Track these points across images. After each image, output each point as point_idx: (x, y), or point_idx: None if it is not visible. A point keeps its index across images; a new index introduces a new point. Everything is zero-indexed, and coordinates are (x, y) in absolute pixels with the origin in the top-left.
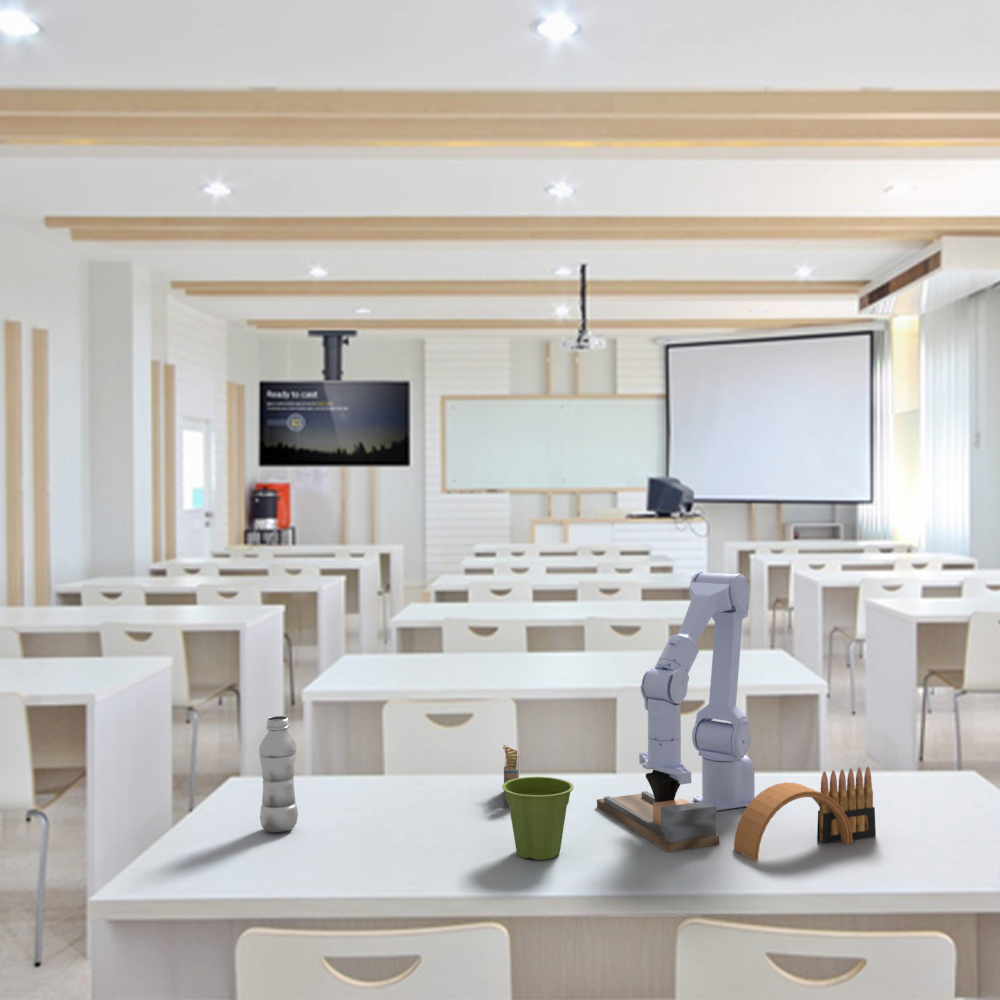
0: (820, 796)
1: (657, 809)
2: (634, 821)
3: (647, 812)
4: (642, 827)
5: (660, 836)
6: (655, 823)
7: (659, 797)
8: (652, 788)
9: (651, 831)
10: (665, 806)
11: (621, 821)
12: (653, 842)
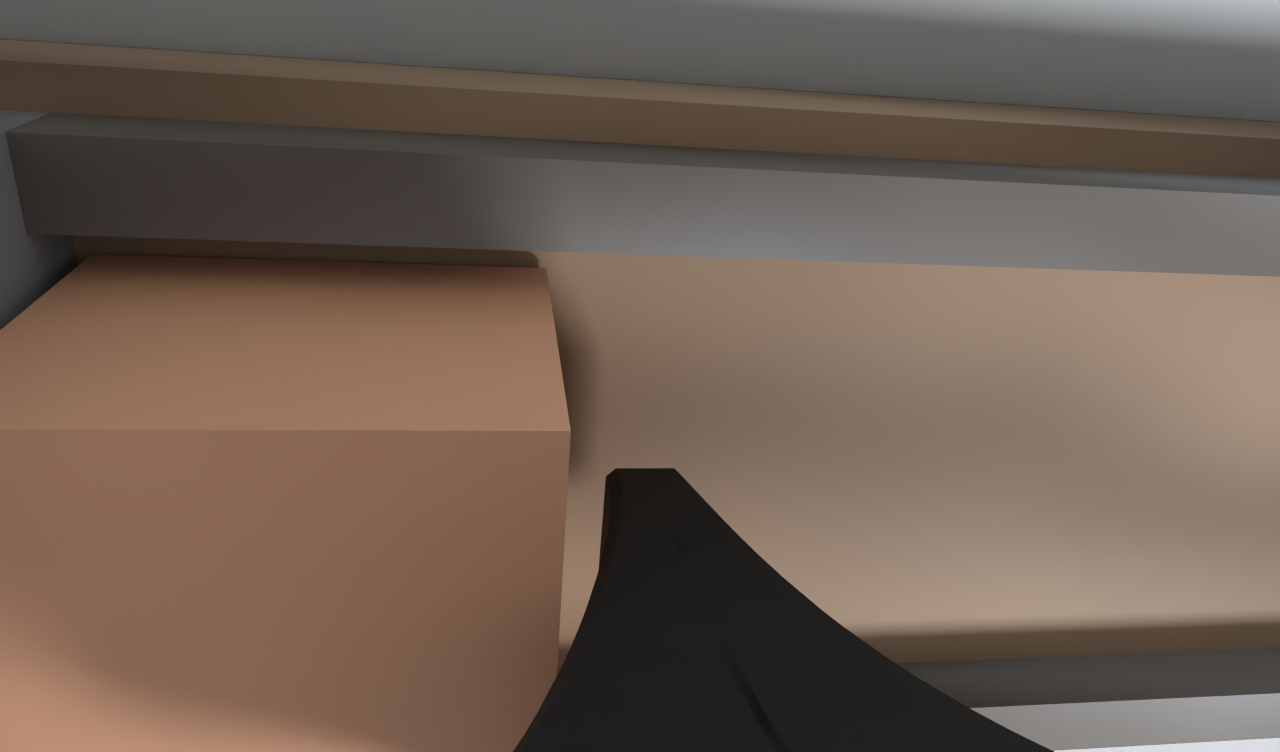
0: None
1: (389, 390)
2: (845, 133)
3: (1021, 468)
4: (571, 96)
5: (69, 115)
6: (479, 285)
7: (585, 623)
8: (868, 686)
9: (340, 115)
10: (230, 528)
11: (1121, 113)
12: (245, 56)
